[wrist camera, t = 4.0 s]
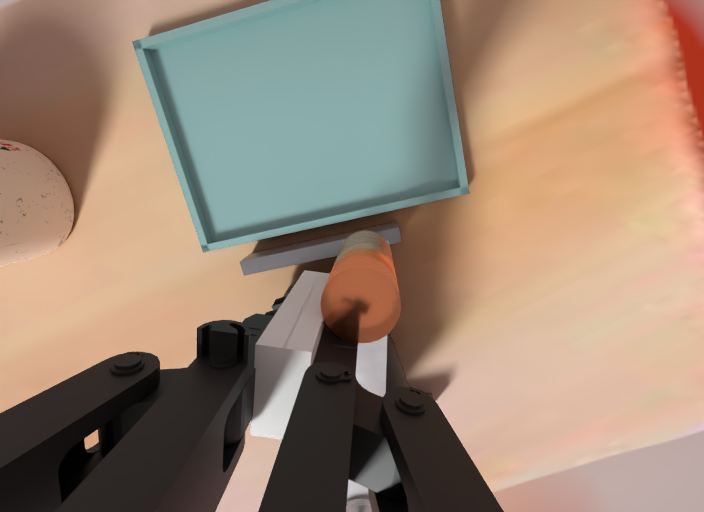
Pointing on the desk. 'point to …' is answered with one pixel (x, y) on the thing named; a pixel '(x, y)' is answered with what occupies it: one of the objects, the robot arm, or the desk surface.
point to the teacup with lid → (31, 204)
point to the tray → (306, 114)
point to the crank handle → (363, 317)
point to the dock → (311, 250)
